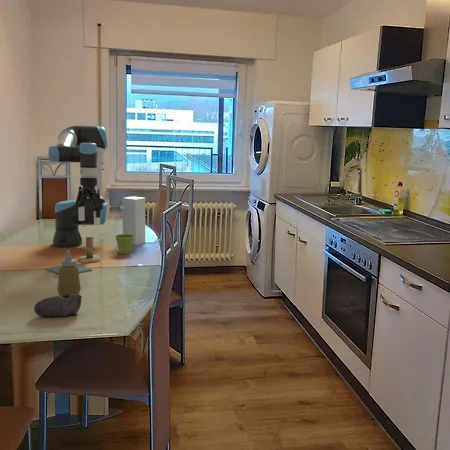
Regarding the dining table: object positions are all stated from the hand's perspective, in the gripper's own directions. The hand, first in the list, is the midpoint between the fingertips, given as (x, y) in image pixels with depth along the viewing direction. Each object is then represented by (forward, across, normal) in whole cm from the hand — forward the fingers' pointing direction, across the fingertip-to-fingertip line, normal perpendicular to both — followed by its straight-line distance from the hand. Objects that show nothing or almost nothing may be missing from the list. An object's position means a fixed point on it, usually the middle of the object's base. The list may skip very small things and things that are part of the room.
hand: (89, 222), depth 237 cm
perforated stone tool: (+19, +58, -46) cm, 76 cm away
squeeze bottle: (+19, +45, -35) cm, 60 cm away
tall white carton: (+18, -18, +38) cm, 46 cm away
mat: (+18, +10, -16) cm, 26 cm away
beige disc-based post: (+18, 0, 0) cm, 18 cm away
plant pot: (+18, -2, +21) cm, 28 cm away
